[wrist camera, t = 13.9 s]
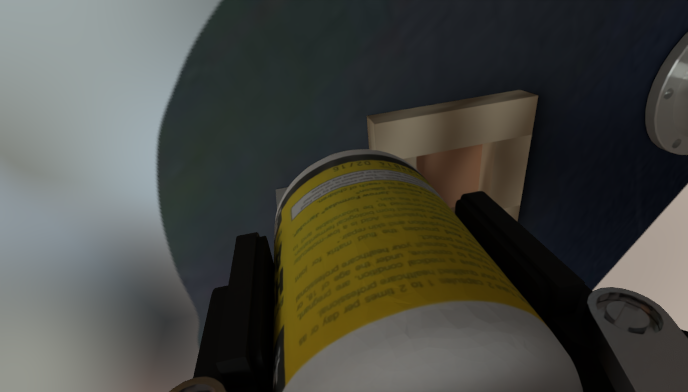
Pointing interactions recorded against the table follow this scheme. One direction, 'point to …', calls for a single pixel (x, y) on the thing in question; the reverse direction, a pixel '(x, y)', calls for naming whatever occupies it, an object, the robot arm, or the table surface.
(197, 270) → the table surface
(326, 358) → the supplement bottle
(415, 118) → the socket board
